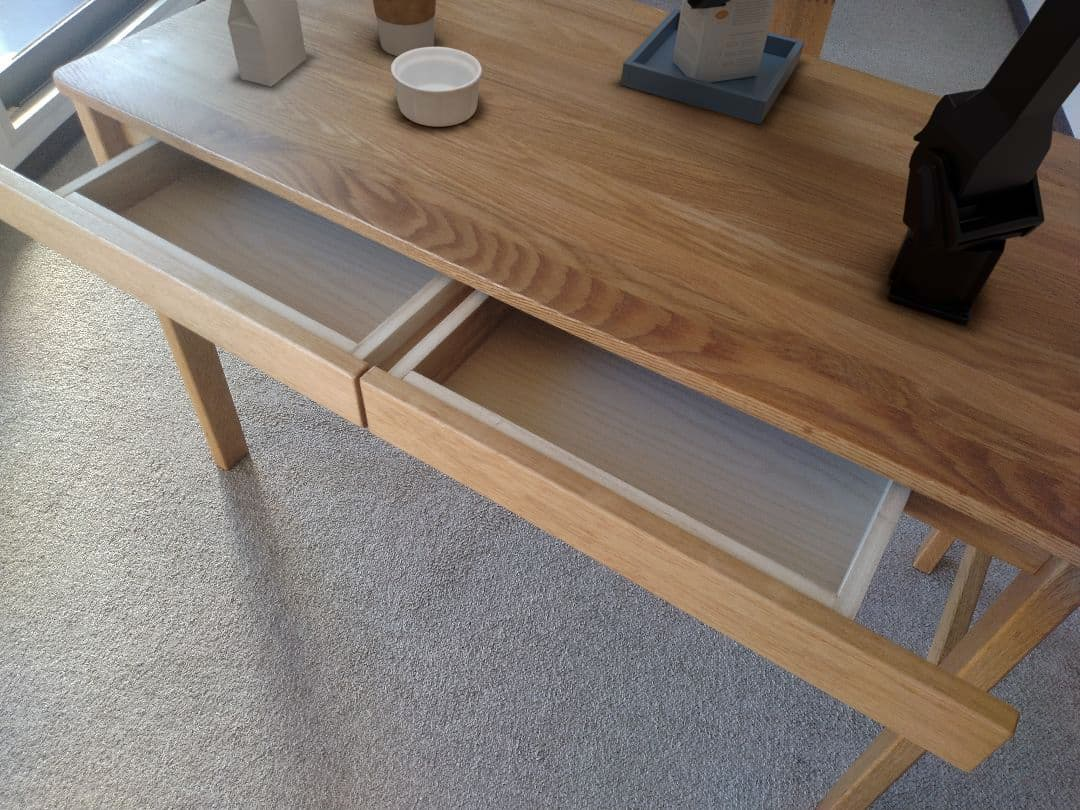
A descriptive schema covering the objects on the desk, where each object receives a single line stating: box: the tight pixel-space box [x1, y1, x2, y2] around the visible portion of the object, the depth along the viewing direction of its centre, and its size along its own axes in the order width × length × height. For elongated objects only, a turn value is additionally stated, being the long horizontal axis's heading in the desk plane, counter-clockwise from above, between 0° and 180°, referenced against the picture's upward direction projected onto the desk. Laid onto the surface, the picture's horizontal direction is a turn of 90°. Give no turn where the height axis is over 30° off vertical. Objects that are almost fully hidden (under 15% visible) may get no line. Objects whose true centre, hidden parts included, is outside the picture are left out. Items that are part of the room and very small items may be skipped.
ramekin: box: [390, 46, 483, 128], centre depth 84 cm, size 9×9×4 cm
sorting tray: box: [620, 7, 806, 125], centre depth 92 cm, size 16×16×2 cm
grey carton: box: [227, 0, 307, 87], centre depth 85 cm, size 4×7×10 cm, turn 159°
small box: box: [673, 0, 777, 83], centre depth 88 cm, size 8×6×10 cm
